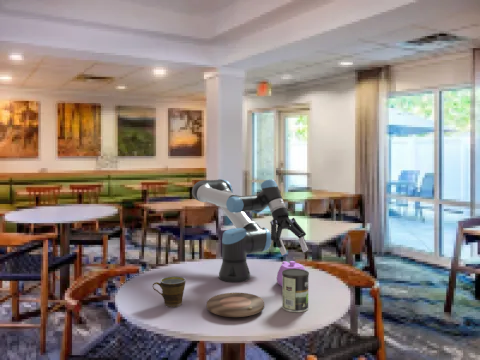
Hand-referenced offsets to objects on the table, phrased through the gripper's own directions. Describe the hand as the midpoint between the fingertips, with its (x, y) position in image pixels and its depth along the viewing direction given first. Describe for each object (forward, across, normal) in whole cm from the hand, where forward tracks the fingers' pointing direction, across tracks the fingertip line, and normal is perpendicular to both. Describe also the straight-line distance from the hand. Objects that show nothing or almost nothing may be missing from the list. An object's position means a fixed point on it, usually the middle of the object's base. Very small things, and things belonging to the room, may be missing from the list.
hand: (295, 252), depth 182 cm
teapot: (+12, +2, +11) cm, 17 cm away
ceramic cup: (+7, -54, +24) cm, 59 cm away
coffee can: (+23, -16, -4) cm, 29 cm away
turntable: (+17, -36, +6) cm, 40 cm away
